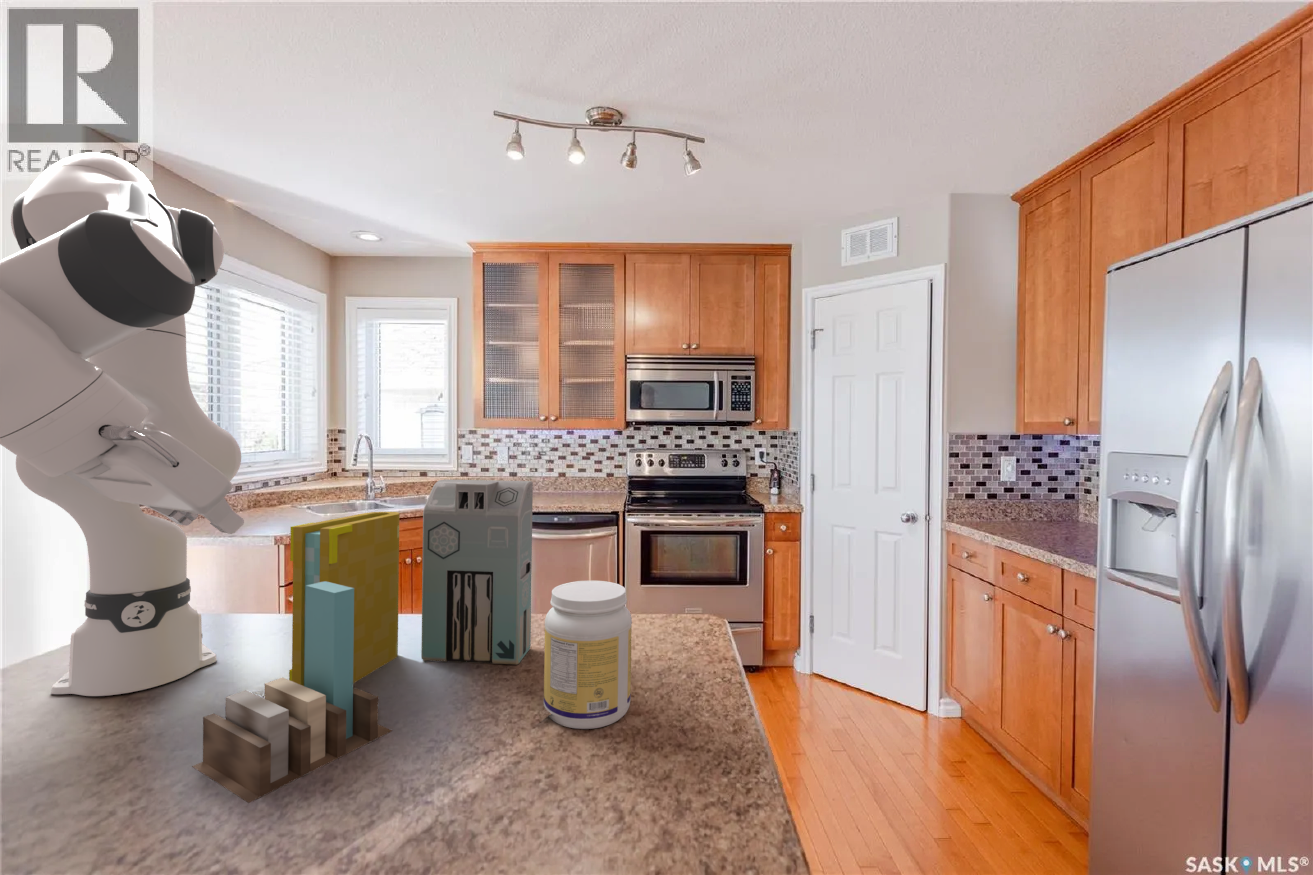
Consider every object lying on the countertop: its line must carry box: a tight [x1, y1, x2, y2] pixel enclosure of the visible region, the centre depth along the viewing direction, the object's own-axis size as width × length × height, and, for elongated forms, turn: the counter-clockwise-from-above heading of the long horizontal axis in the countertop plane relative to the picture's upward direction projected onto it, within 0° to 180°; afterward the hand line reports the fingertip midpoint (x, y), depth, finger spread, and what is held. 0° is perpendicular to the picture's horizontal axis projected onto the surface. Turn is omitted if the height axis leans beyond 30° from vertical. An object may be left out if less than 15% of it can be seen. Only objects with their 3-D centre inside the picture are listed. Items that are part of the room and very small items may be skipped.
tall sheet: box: [305, 581, 354, 739], centre depth 69 cm, size 6×2×18 cm, turn 61°
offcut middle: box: [263, 676, 326, 764], centre depth 66 cm, size 9×2×7 cm, turn 61°
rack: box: [191, 686, 393, 804], centre depth 66 cm, size 12×16×6 cm
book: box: [288, 511, 400, 686], centre depth 87 cm, size 17×7×25 cm, turn 168°
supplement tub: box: [543, 580, 633, 730], centre depth 79 cm, size 12×12×17 cm
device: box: [420, 478, 534, 666], centre depth 98 cm, size 16×8×30 cm, turn 87°
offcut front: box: [224, 689, 289, 783], centre depth 62 cm, size 9×2×7 cm, turn 61°
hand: (212, 524), depth 58 cm, fingers open, 8 cm apart
